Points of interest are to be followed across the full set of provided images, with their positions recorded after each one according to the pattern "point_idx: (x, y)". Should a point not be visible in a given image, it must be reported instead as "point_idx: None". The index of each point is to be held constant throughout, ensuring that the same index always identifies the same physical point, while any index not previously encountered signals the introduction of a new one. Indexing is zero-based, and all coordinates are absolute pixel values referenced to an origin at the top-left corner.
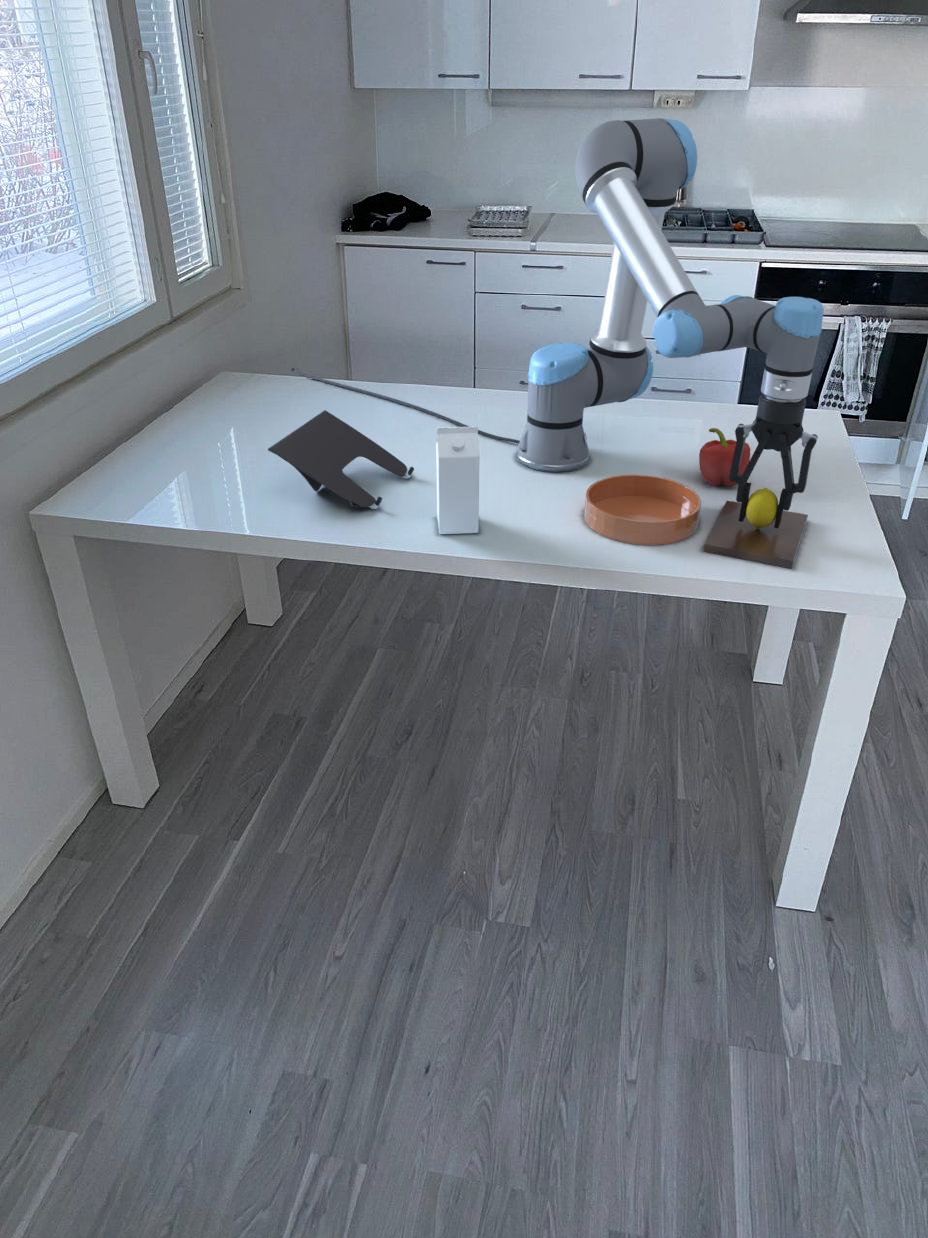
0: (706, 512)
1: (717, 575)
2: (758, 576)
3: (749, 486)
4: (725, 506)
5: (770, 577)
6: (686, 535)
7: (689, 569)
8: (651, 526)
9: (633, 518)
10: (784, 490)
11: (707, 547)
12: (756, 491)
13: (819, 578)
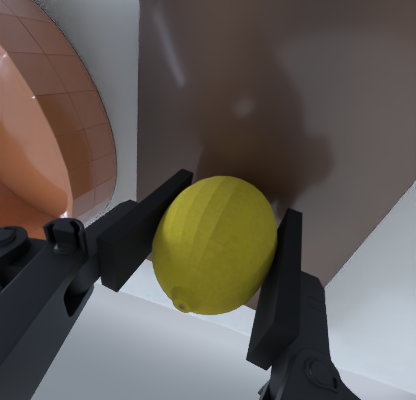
0: (113, 43)
1: (172, 301)
2: (228, 315)
3: (115, 277)
4: (143, 33)
5: (246, 321)
6: (105, 203)
7: (137, 283)
8: None
9: (11, 132)
10: (275, 343)
11: None
12: (157, 274)
13: (338, 343)
